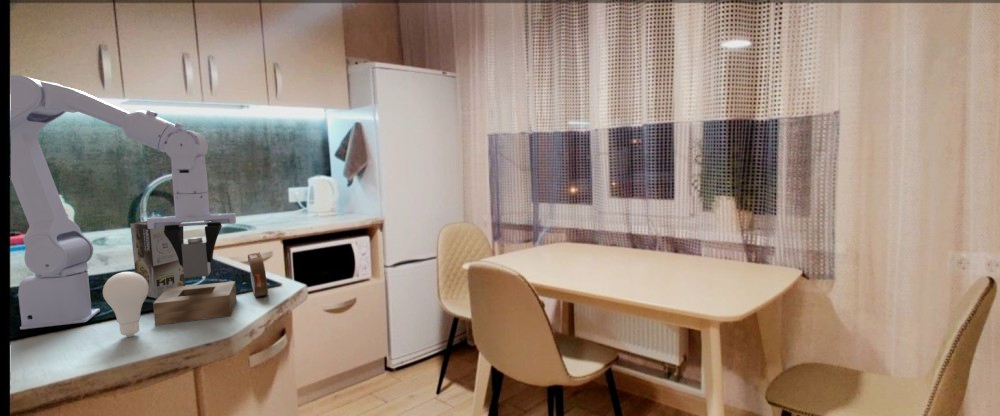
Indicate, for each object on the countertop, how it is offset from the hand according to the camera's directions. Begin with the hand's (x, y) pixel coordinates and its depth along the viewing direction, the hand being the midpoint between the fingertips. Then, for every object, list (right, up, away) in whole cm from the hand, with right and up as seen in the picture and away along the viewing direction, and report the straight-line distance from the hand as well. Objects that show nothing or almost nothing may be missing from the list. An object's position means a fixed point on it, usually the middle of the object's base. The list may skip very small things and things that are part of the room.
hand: (196, 262), depth 98 cm
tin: (+6, -8, +14) cm, 17 cm away
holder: (+1, -10, 0) cm, 9 cm away
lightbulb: (-3, -11, -14) cm, 18 cm away
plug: (0, -2, +1) cm, 3 cm away
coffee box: (-16, -9, +14) cm, 23 cm away
